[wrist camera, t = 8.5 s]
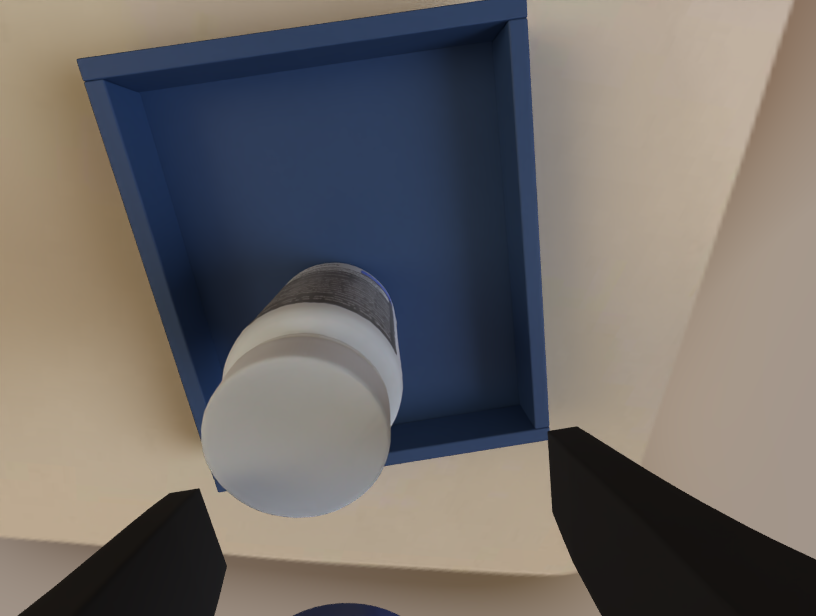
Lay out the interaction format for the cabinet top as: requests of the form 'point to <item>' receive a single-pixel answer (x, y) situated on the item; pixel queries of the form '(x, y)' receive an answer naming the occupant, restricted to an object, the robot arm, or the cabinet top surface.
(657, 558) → the robot arm
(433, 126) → the blue tray
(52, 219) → the cabinet top surface
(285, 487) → the pill bottle
